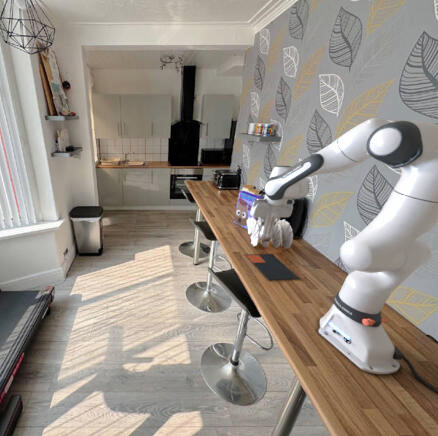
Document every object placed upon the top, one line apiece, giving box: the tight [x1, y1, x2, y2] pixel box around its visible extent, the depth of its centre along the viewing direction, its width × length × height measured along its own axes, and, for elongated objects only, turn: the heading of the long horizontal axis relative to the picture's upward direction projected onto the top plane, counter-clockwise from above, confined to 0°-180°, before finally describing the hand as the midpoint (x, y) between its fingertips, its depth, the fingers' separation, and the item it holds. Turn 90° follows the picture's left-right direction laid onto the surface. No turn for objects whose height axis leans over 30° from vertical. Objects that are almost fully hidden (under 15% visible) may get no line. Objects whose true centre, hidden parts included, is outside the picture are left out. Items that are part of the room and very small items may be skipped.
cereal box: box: [232, 190, 264, 231], centre depth 163 cm, size 17×5×24 cm, turn 27°
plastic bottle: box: [258, 207, 278, 242], centre depth 118 cm, size 6×7×20 cm
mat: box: [245, 253, 300, 281], centre depth 123 cm, size 22×16×1 cm
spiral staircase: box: [246, 217, 294, 250], centre depth 140 cm, size 18×18×25 cm
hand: (267, 224), depth 119 cm, fingers closed on plastic bottle, 5 cm apart
